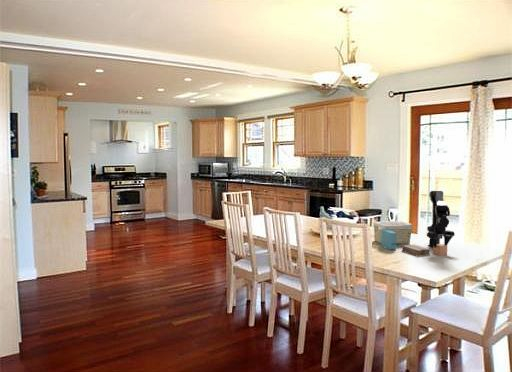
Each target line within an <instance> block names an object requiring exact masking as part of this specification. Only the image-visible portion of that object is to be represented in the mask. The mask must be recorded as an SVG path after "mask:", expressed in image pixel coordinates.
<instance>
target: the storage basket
mask: <svg viewBox="0 0 512 372" xmlns="http://www.w3.org/2000/svg"><path fill="white" fill-rule="evenodd" d="M413 226H414V224H412V223H409V222H405V221H401V220H400V221H399V220H389V221H388V220H387V221H374V222H373V235H374V236H373V237H374V241H375V242H376V243H379V244H381V237H382V230H390V231H393V232H396V234H397V244H396V245H402V244H403V245H404V244H405V245H406V244H410V243H411V236H412V232H413V231H412V230H413Z"/></svg>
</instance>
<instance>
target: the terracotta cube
mask: <svg viewBox="0 0 512 372" xmlns="http://www.w3.org/2000/svg"><path fill="white" fill-rule="evenodd" d="M432 253H433V254H434V255H438V256H446V255H448V244H447V245H444V244H443V243H440V244H437V246H436V248H434V246H433V247H432Z"/></svg>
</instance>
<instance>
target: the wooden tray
mask: <svg viewBox="0 0 512 372" xmlns="http://www.w3.org/2000/svg"><path fill="white" fill-rule="evenodd" d="M401 250H402V252H404V253H408V254H411V255H413V256H416V255H417V257H420V255H421V256H427V255H430V250H431V249H430V248H427V247H424V246H421V245H417V244H407V245H406V244H405V245H402V246H401Z"/></svg>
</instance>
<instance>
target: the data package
mask: <svg viewBox="0 0 512 372" xmlns="http://www.w3.org/2000/svg"><path fill="white" fill-rule="evenodd" d="M380 245H381V247H382V248H384V249H387V250H389V251H391V250H393V251H394V250H397V245H398V244H397V234H396V232H393V231H390V230H382V237H381V243H380Z"/></svg>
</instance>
